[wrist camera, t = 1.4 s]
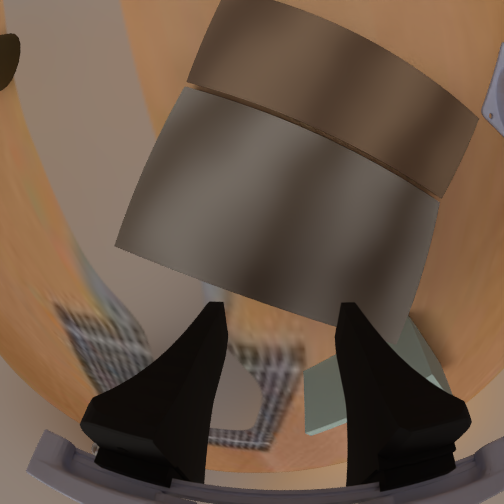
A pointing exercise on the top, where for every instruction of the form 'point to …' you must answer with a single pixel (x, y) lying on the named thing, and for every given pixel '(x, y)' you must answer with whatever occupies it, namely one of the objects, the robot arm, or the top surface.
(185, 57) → the top surface
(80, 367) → the top surface
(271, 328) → the top surface
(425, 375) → the l-shaped corner panel
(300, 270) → the grey oak plank
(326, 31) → the walnut floor row
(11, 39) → the brown tall rounded piece
